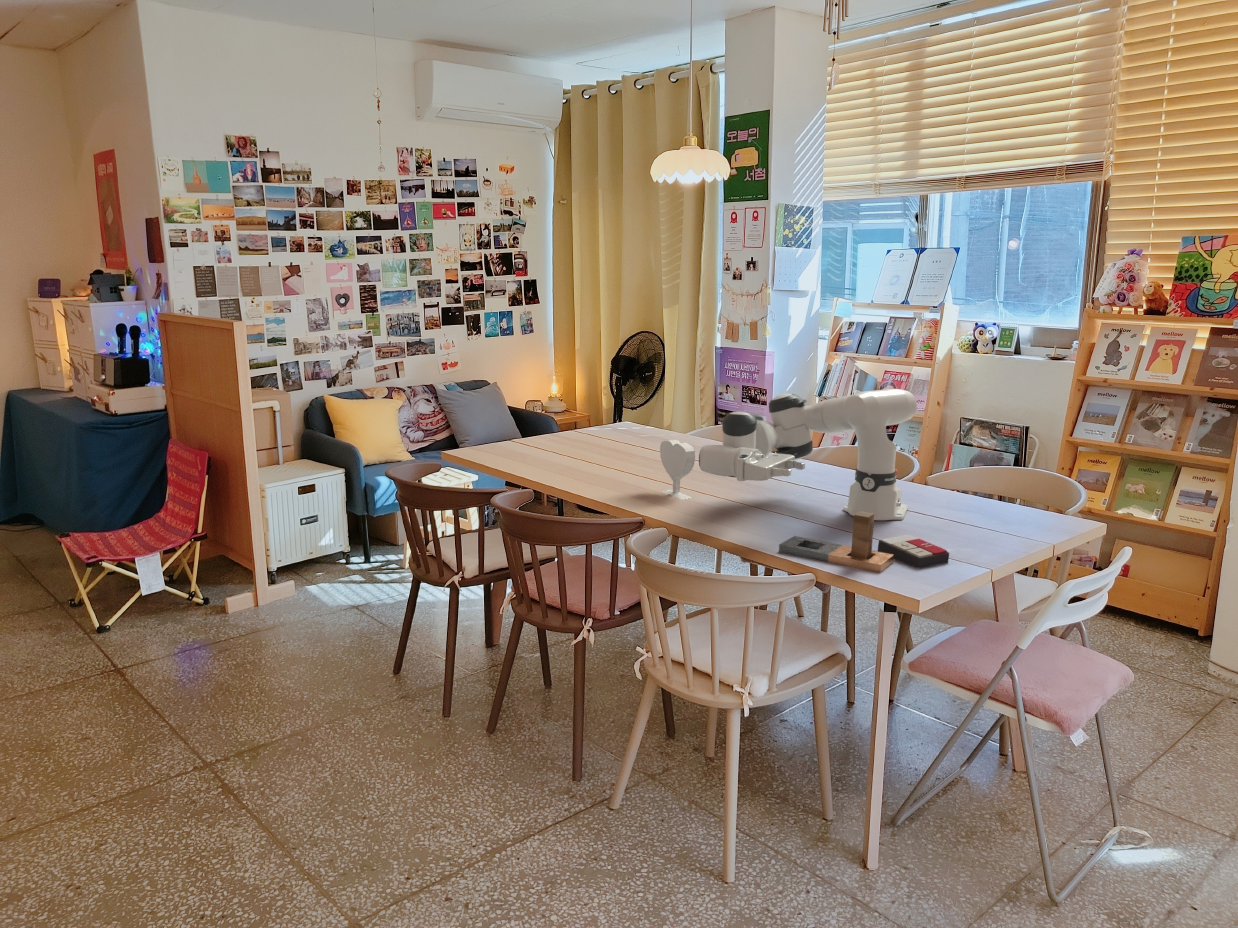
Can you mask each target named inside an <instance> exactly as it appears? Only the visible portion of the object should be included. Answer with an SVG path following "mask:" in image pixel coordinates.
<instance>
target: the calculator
mask: <svg viewBox="0 0 1238 928" xmlns="http://www.w3.org/2000/svg"><path fill="white" fill-rule="evenodd" d="M877 552H882V553H888V554H893V555H894V559H895V560H897V561H899V562H901V563H905V564H906V565H908V566H912V567H914V568H917V569H921V568H927V567H932V566H936V565H940V564H946V563H949V559H950V552H949V551H948V550H947V549H945V548H942V547H940V546H938V545H935V544H933V543H931V542H928V541H926V540H923V539H921V538H917V537H915V536H913V535H910V534H904V535H898V536H893V537H888V538H882V539H880V540H878V545H877Z"/></svg>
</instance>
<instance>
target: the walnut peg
mask: <svg viewBox="0 0 1238 928" xmlns="http://www.w3.org/2000/svg"><path fill="white" fill-rule="evenodd" d="M874 522H875V520H874V514H873V513H867V512H861V511H859V512H857V513H856V514H854V516H853V523H852V535H851V536H852V537H851V547H852V549H851V557H857V558H862V559H867V560H869V559H870V558H871V552H872V551H873V550H872V549H873V538H874V537H873V535H874Z"/></svg>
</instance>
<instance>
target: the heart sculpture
mask: <svg viewBox="0 0 1238 928" xmlns="http://www.w3.org/2000/svg"><path fill="white" fill-rule="evenodd" d="M659 451H660V452H659V453H660V454H659V455H660V456H659V457H660V460H661V463H662V464H661V465H662V466H663V468H664V470H665V472H666V473H667V474H668V476H669V477H670V479H671V481H672V489H666V490H667V491H663V490H662V491H663V492H665V493H667V494H666V495H668V494H670V495H672V496H671V497H673V496H674V497H673V498H675V497H676V498H675V499H678V498H679V499H678V500H689V499H688V498H690V499H692V498H693V496H689V495H687V494H684V493H682V492H681V480H682V479H683V478H685V477H686V476H688V475H689V474H690V473H691V471H692V470H693V468H694V466H695V461H696V450H695V449H694V447H693V446H692V445H691V444H689V443H687V442H681V441H679V439H670V440H663V441H661V443H660V447H659ZM663 492H662V493H663ZM665 493H664V494H665ZM670 495H669V496H670ZM685 498H686V499H685Z"/></svg>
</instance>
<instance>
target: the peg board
mask: <svg viewBox="0 0 1238 928" xmlns="http://www.w3.org/2000/svg"><path fill="white" fill-rule="evenodd" d="M778 546H779V547H778V552H779V553H783V554H788V555H792V556H797V557H801V558H807V559H812V560H818V561H823V562H825V563H826V562H827V563H831V564H837V565H842V566H848V567H850V568H851V567H852V568H857V569H862V570H868V571H871V572H876V573H881V572H883V571H884V570H885V569H887V568H888V567H890V566H891V565H893V563H894V559H895V558H894V555H893V554H888V553H882V552H878V550H877V551H876V550H872V552H871V558H870V559H869V560H867V559H862V558H857V557H851V549H852V545H844V544H839V543H835V542H834V543H833V542H829V541H823V540H819V539H812V538H808V537H803V536H798V535H794V536H792V537H790V538H789V539H787V540H784V541H783V542H782V543H780V544H778Z"/></svg>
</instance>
